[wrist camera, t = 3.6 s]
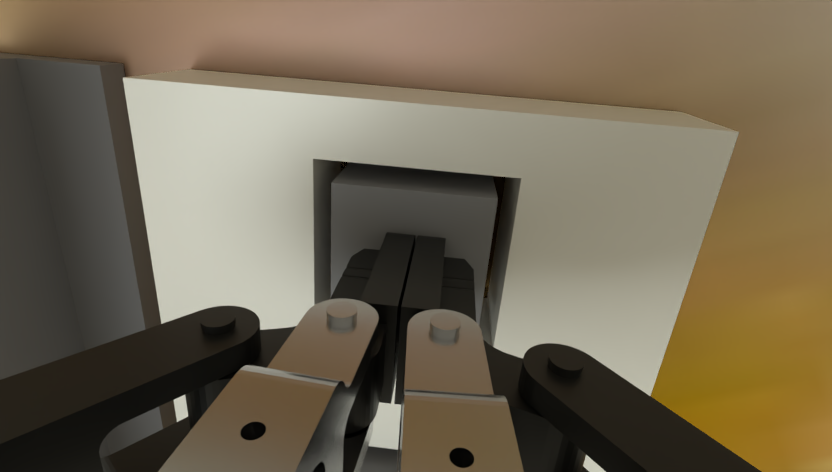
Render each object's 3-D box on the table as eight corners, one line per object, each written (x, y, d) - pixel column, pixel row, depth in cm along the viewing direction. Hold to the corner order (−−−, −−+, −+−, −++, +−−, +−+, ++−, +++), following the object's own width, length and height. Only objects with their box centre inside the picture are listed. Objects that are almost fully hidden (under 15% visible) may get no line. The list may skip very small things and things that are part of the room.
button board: (189, 69, 14) (122, 77, 11) (681, 111, 13) (738, 132, 10) (246, 613, 24) (219, 688, 21) (526, 653, 23) (535, 736, 21)
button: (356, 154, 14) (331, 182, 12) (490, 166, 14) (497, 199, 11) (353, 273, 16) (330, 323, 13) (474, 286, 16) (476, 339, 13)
